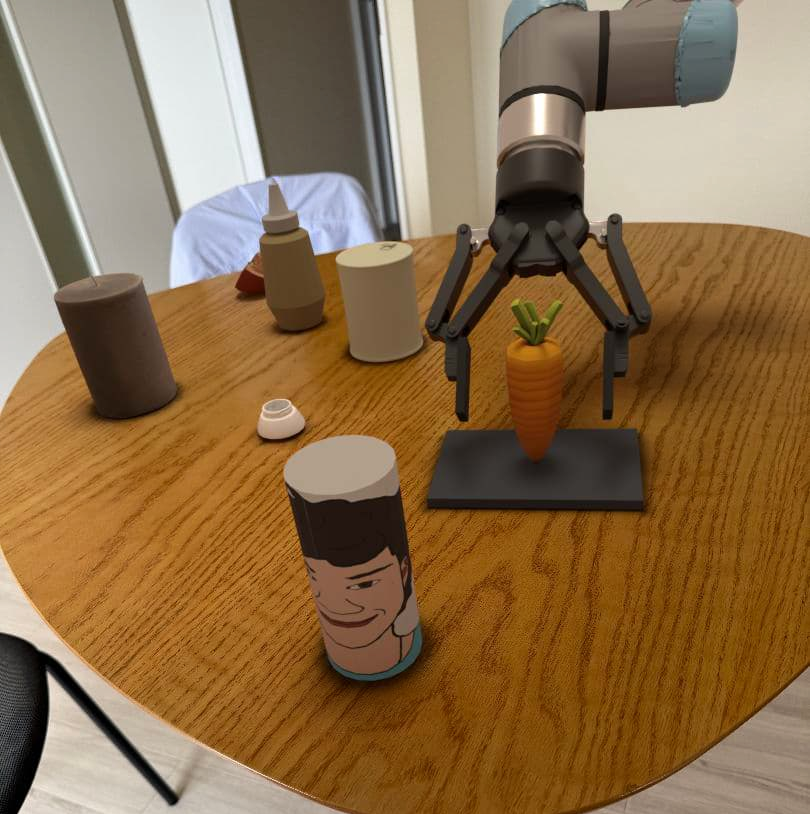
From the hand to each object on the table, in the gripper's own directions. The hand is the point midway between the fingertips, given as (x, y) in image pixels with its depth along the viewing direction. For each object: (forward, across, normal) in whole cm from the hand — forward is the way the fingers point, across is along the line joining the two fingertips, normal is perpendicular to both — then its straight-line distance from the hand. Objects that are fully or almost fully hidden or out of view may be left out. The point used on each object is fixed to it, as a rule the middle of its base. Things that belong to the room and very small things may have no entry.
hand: (533, 416), depth 64 cm
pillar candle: (-8, +48, -18) cm, 52 cm away
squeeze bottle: (-24, +34, -34) cm, 54 cm away
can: (-17, +20, -28) cm, 38 cm away
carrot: (+2, 0, -6) cm, 7 cm away
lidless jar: (-3, +27, -13) cm, 30 cm away
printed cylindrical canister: (+19, +10, +9) cm, 24 cm away
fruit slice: (-34, +45, -44) cm, 71 cm away
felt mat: (+3, 0, -7) cm, 8 cm away
